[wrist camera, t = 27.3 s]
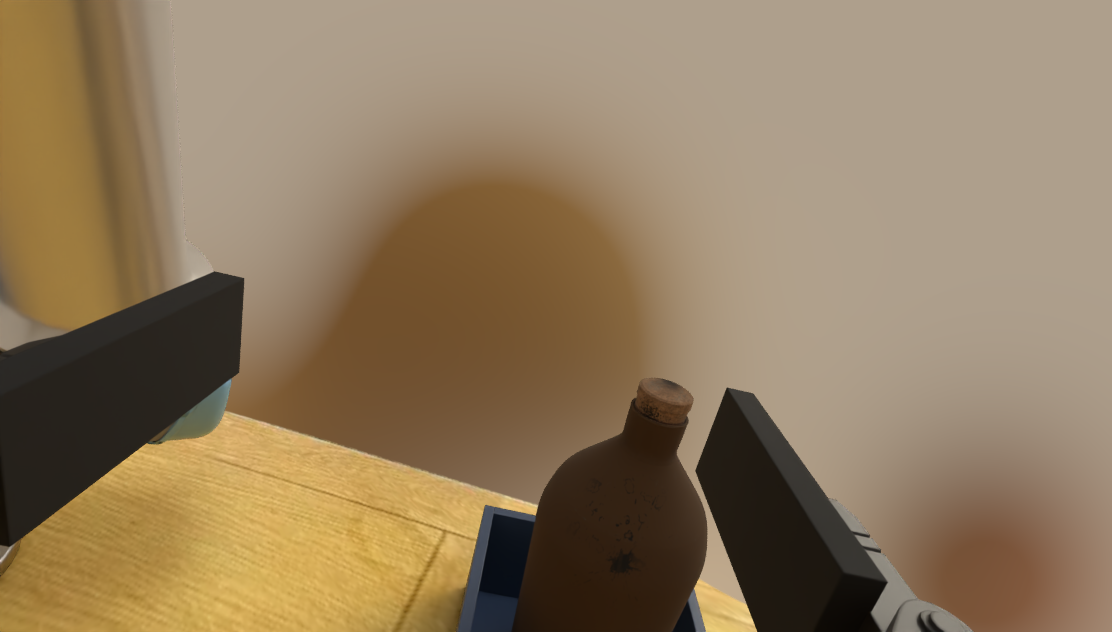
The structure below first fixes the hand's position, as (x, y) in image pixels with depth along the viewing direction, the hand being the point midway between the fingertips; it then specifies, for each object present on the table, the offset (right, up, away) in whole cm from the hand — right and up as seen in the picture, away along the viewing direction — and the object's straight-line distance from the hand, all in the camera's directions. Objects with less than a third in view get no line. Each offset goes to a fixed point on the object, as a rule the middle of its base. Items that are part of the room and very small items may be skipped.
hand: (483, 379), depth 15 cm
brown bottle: (+2, -26, +25) cm, 36 cm away
